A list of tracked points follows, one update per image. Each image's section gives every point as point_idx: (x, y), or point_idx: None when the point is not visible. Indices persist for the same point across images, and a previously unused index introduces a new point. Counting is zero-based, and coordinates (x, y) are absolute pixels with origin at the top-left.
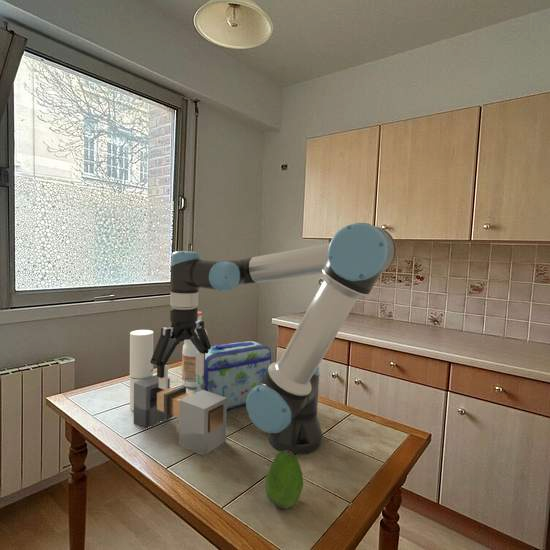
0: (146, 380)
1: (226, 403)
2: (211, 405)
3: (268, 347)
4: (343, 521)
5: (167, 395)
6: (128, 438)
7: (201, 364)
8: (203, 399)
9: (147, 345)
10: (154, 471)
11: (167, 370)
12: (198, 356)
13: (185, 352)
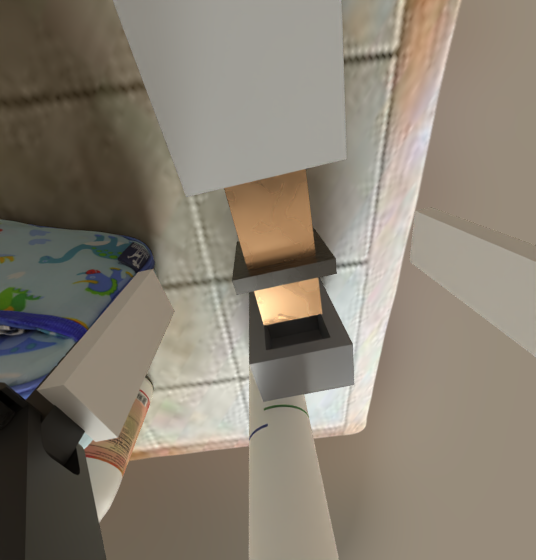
0: (317, 382)
1: None
2: None
3: None
4: None
5: (331, 257)
6: (363, 257)
7: (124, 316)
8: (249, 60)
9: (293, 545)
10: (425, 65)
11: (530, 256)
12: (115, 388)
13: (112, 482)
